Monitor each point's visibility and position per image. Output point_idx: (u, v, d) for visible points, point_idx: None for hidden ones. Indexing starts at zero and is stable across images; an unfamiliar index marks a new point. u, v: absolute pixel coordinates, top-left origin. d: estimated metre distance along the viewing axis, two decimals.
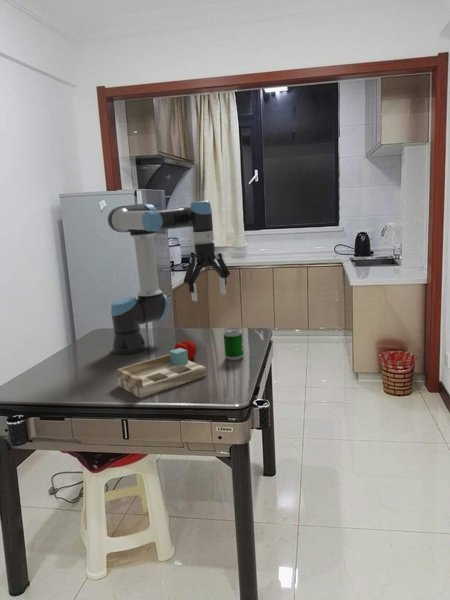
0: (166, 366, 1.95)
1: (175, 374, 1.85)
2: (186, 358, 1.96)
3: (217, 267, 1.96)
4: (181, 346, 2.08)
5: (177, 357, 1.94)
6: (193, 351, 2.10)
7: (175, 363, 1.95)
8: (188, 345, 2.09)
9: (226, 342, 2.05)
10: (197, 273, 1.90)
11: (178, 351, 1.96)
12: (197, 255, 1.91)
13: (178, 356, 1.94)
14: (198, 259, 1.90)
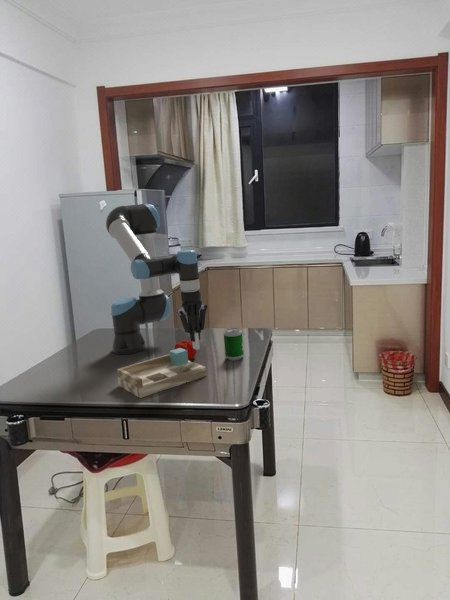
0: (166, 366, 1.95)
1: (175, 374, 1.85)
2: (186, 358, 1.96)
3: None
4: (181, 346, 2.08)
5: (177, 357, 1.94)
6: (193, 351, 2.10)
7: (175, 363, 1.95)
8: (188, 345, 2.09)
9: (226, 342, 2.05)
10: None
11: (178, 351, 1.96)
12: None
13: (178, 356, 1.94)
14: None
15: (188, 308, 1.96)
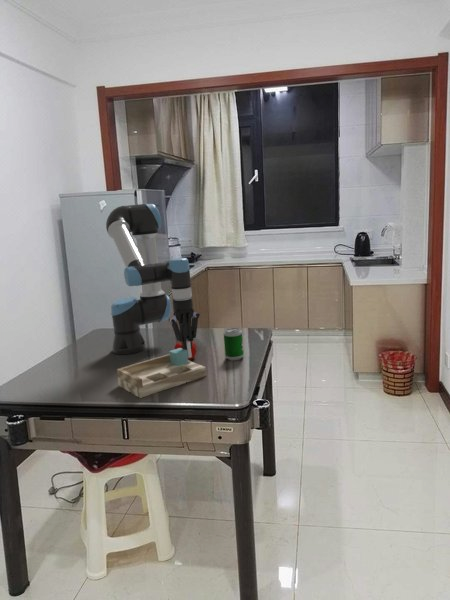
0: (166, 366, 1.95)
1: (175, 374, 1.85)
2: (186, 358, 1.96)
3: None
4: (181, 346, 2.08)
5: (177, 357, 1.94)
6: (193, 351, 2.10)
7: (175, 363, 1.95)
8: None
9: (226, 342, 2.05)
10: None
11: (178, 351, 1.96)
12: None
13: (177, 356, 1.94)
14: None
15: (180, 316, 1.94)
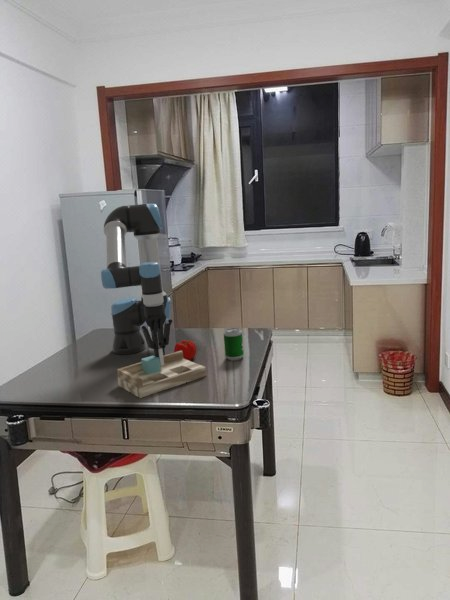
0: (166, 366, 1.95)
1: (175, 374, 1.85)
2: (158, 366, 1.89)
3: None
4: (181, 346, 2.08)
5: (148, 365, 1.87)
6: (193, 351, 2.10)
7: (146, 371, 1.88)
8: (188, 345, 2.09)
9: (226, 342, 2.05)
10: None
11: (149, 359, 1.89)
12: None
13: (149, 364, 1.87)
14: None
15: (151, 323, 1.87)
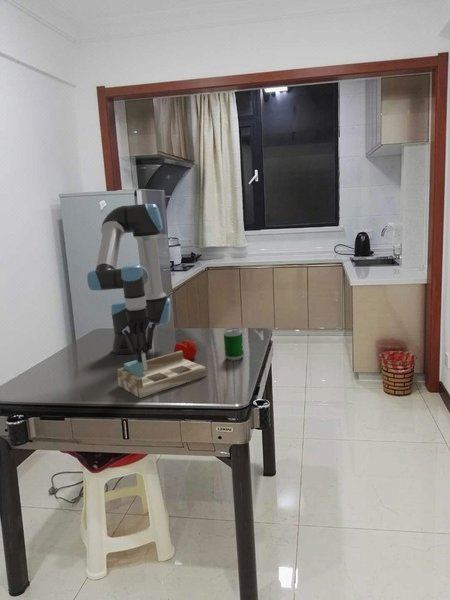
0: (166, 366, 1.95)
1: (175, 374, 1.85)
2: (141, 371, 1.86)
3: None
4: (181, 346, 2.08)
5: (130, 370, 1.83)
6: (193, 351, 2.10)
7: None
8: (188, 345, 2.09)
9: (226, 342, 2.05)
10: None
11: (132, 363, 1.85)
12: None
13: (131, 369, 1.83)
14: None
15: (134, 327, 1.83)
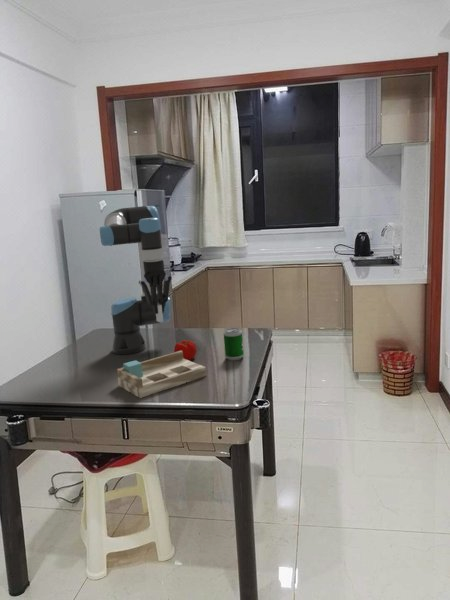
0: (166, 366, 1.95)
1: (175, 374, 1.85)
2: (140, 371, 1.85)
3: None
4: (181, 346, 2.08)
5: (130, 370, 1.83)
6: (193, 351, 2.10)
7: None
8: (188, 345, 2.09)
9: (226, 342, 2.05)
10: None
11: (132, 363, 1.85)
12: None
13: (131, 369, 1.83)
14: None
15: (150, 279, 1.88)
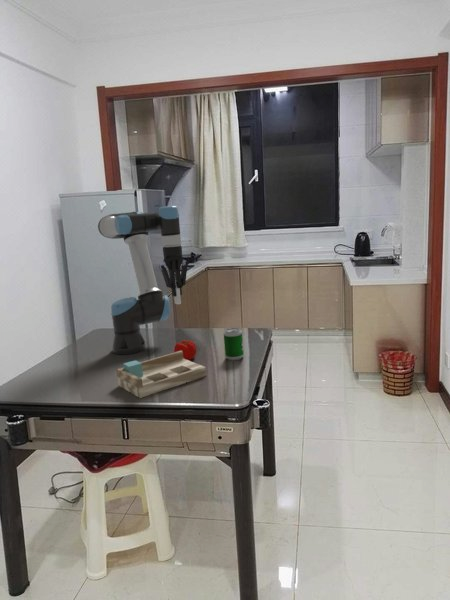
0: (166, 366, 1.95)
1: (175, 374, 1.85)
2: (140, 371, 1.85)
3: None
4: (181, 346, 2.08)
5: (130, 370, 1.83)
6: (193, 351, 2.10)
7: None
8: (188, 345, 2.09)
9: (226, 342, 2.05)
10: None
11: (132, 363, 1.85)
12: None
13: (131, 369, 1.83)
14: None
15: (169, 263, 2.00)
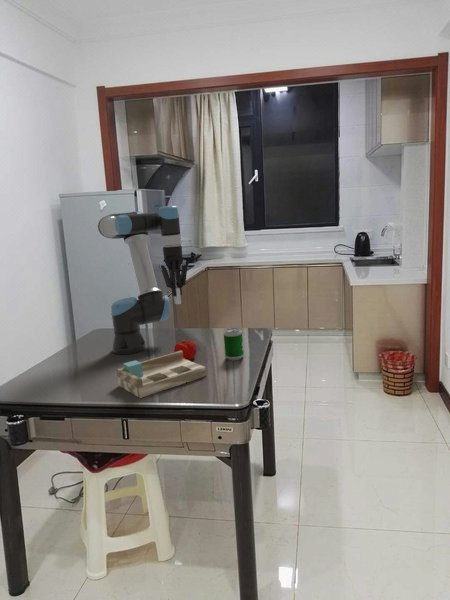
0: (166, 366, 1.95)
1: (175, 374, 1.85)
2: (140, 371, 1.85)
3: None
4: (181, 346, 2.08)
5: (130, 370, 1.83)
6: (193, 351, 2.10)
7: None
8: (188, 345, 2.09)
9: (226, 342, 2.05)
10: None
11: (132, 363, 1.85)
12: None
13: (131, 369, 1.83)
14: None
15: (170, 263, 2.00)
